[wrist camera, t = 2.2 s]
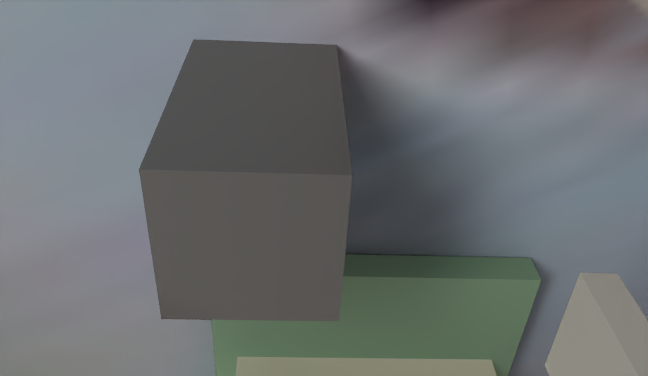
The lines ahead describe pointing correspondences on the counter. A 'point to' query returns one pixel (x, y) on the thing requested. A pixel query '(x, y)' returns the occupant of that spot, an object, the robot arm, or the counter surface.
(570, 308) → the robot arm
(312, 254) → the plug
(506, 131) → the counter surface
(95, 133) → the counter surface
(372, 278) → the board
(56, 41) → the counter surface
